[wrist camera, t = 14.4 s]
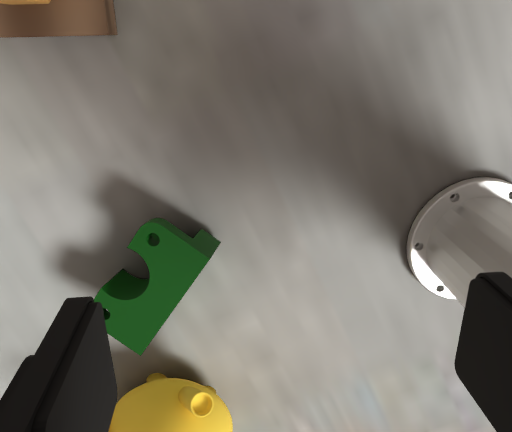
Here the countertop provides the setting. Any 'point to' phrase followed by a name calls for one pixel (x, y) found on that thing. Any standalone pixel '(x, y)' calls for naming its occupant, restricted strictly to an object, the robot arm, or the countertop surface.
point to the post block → (58, 19)
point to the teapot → (171, 408)
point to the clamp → (153, 282)
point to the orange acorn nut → (24, 2)
